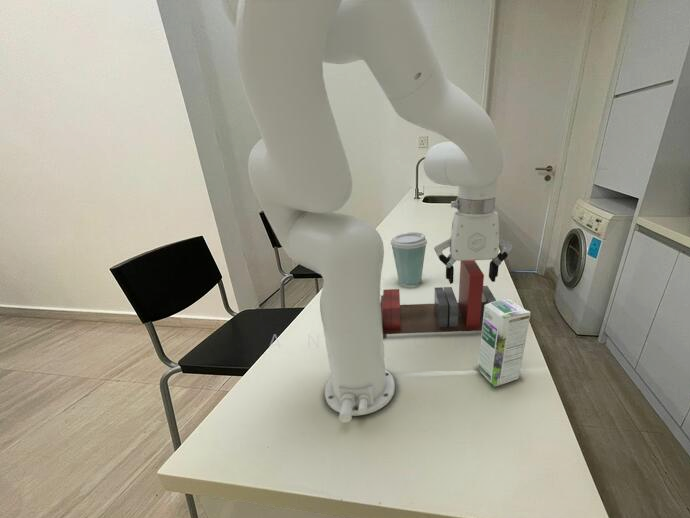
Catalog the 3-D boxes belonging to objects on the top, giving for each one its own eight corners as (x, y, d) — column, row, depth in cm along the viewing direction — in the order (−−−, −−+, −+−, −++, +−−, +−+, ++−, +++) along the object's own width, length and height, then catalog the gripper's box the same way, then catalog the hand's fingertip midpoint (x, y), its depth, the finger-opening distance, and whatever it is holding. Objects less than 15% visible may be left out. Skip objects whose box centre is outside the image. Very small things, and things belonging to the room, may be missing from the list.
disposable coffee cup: (400, 293, 96) (399, 243, 89) (387, 280, 105) (384, 233, 98) (433, 286, 100) (433, 237, 93) (416, 274, 108) (416, 229, 102)
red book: (479, 327, 76) (484, 275, 70) (466, 327, 76) (470, 275, 70) (469, 304, 86) (473, 257, 80) (458, 305, 86) (460, 258, 80)
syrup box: (476, 369, 64) (482, 303, 58) (501, 361, 66) (510, 297, 60) (494, 388, 60) (503, 318, 53) (520, 379, 62) (532, 310, 55)
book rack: (502, 333, 75) (505, 307, 72) (380, 338, 75) (378, 312, 72) (487, 304, 88) (489, 282, 85) (382, 308, 88) (380, 286, 85)
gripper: (436, 211, 66) (436, 288, 74) (523, 207, 66) (513, 285, 74) (432, 204, 73) (432, 275, 80) (511, 200, 73) (503, 272, 80)
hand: (471, 280), depth 77 cm, fingers open, 9 cm apart
